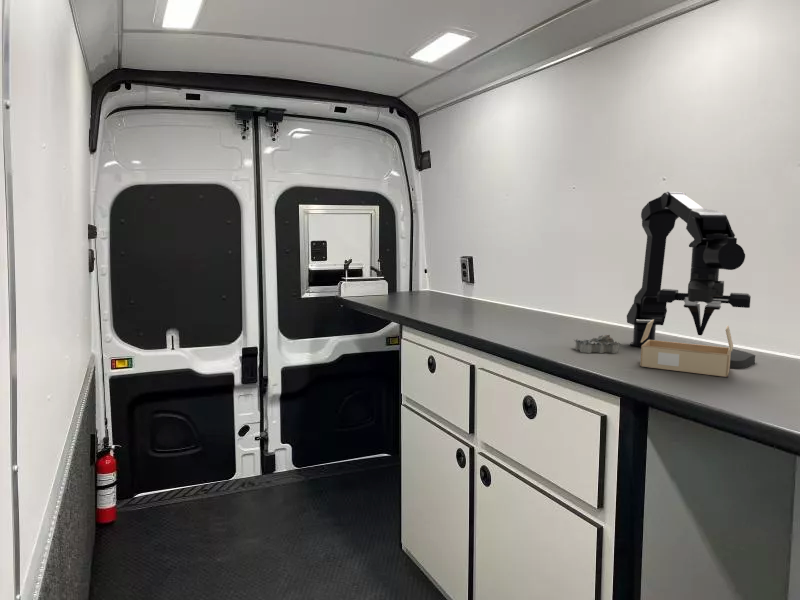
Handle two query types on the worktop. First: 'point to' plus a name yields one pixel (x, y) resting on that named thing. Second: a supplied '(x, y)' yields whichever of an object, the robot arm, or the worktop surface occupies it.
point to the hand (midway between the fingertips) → (700, 335)
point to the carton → (686, 357)
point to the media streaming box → (741, 359)
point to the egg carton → (597, 345)
